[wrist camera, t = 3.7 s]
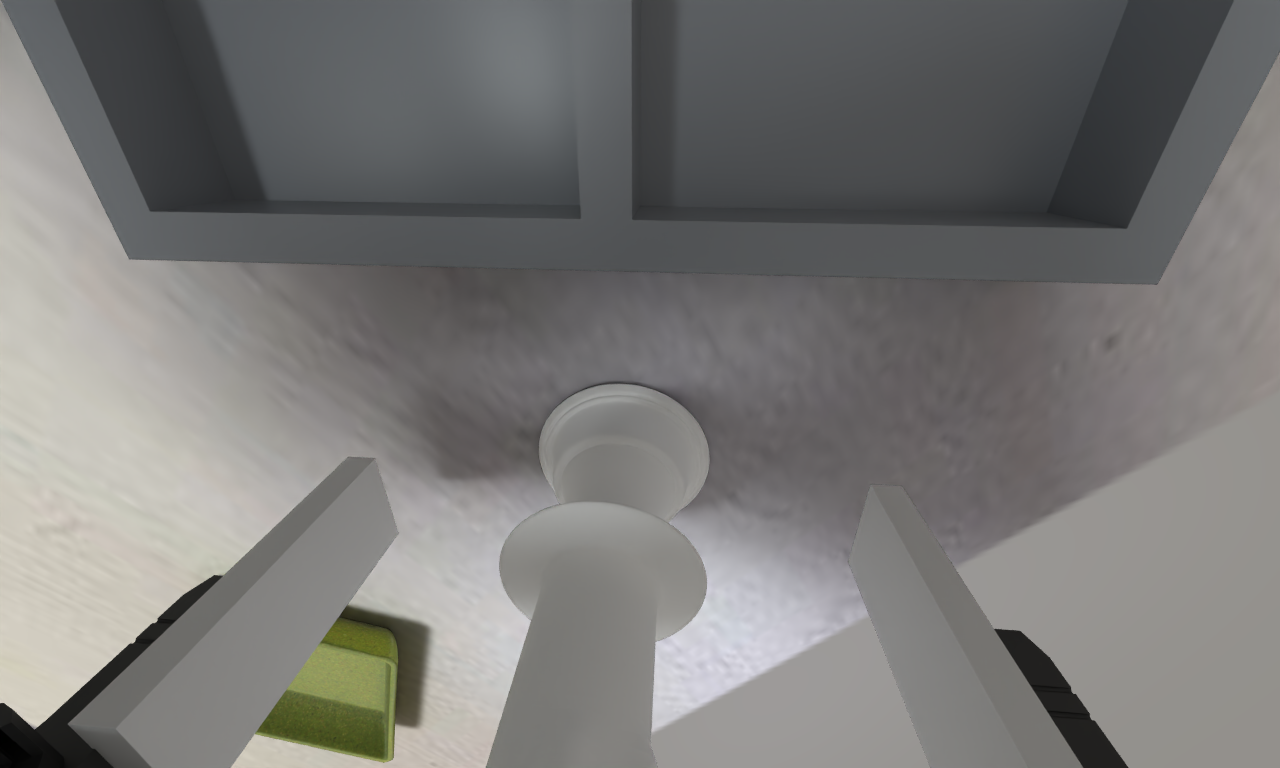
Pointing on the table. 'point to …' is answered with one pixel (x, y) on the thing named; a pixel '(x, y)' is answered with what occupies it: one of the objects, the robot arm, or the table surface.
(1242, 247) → the table surface
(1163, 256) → the holder tray
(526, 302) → the table surface
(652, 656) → the white peg
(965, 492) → the table surface
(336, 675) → the green square dish
